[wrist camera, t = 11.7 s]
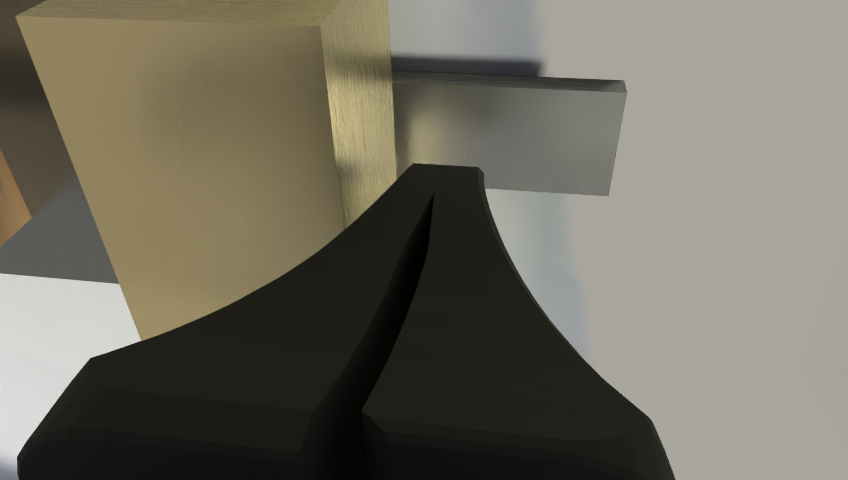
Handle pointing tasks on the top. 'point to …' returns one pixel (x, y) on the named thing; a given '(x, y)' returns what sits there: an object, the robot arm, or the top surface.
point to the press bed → (414, 143)
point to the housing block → (10, 204)
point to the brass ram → (217, 135)
